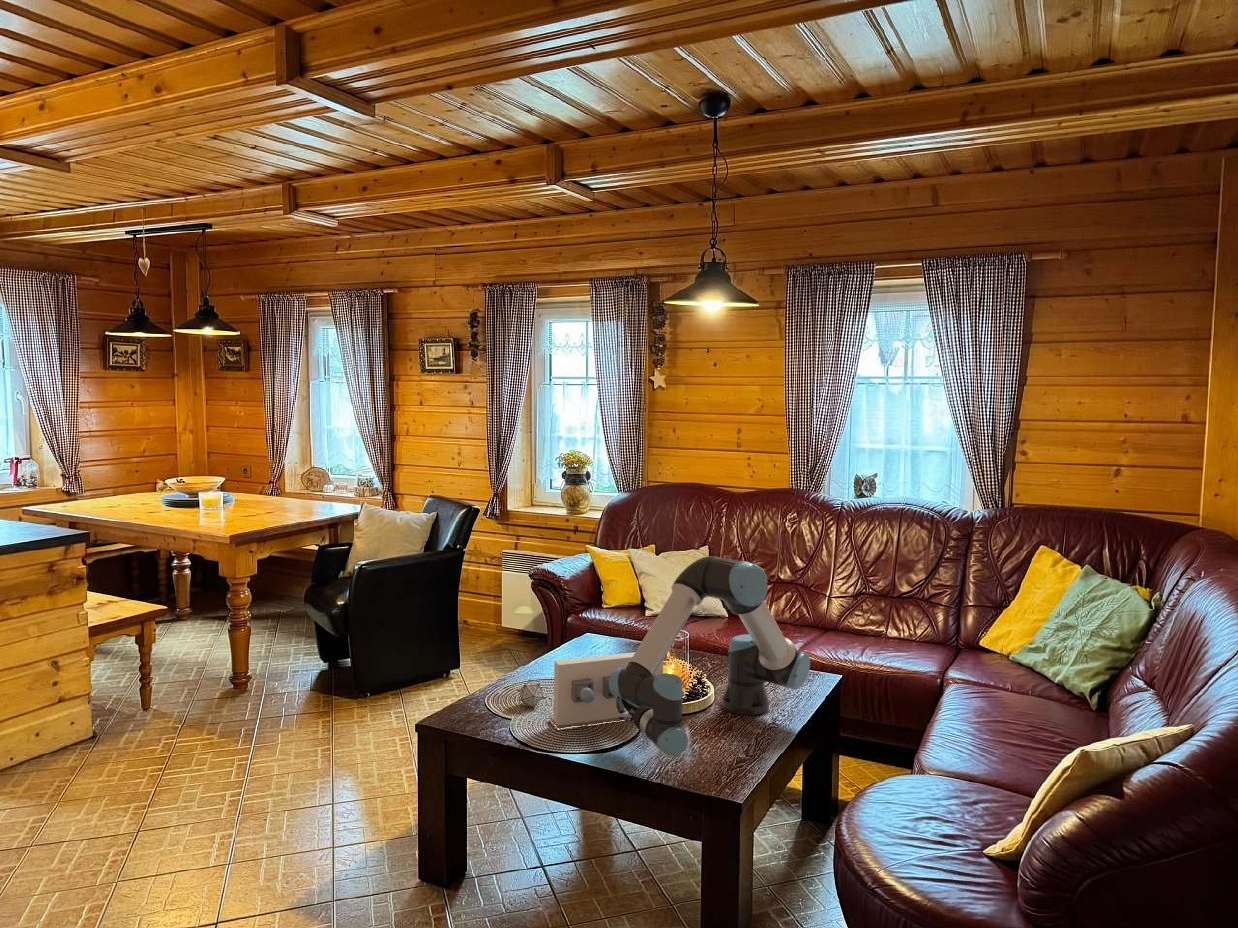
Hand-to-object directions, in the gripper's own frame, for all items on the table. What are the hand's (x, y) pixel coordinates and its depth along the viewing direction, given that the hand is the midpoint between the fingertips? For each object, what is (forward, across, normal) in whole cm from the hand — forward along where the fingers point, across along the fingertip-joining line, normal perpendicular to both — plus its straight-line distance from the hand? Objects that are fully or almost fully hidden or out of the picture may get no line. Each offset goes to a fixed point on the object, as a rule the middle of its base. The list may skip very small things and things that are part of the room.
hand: (618, 691), depth 247 cm
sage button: (+1, 0, -2) cm, 2 cm away
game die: (+27, -19, -12) cm, 35 cm away
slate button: (0, -10, -2) cm, 10 cm away
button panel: (+8, 0, -12) cm, 14 cm away
